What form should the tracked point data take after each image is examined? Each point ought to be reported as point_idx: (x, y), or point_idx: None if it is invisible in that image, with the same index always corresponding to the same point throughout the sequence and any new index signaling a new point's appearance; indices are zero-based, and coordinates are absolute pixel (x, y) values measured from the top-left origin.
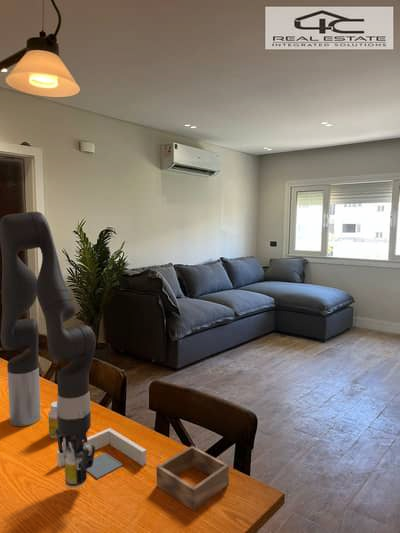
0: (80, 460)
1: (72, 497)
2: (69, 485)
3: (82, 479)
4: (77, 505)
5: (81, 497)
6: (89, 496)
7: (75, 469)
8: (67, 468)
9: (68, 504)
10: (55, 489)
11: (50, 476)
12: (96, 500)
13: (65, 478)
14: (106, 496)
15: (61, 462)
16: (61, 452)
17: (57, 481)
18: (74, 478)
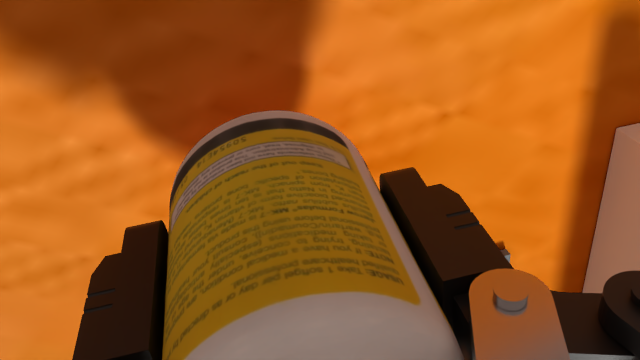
0: None
1: (176, 101)
2: (214, 137)
3: (95, 294)
4: (33, 105)
5: (132, 162)
6: (109, 216)
7: (168, 328)
8: (254, 254)
9: (92, 41)
10: (385, 8)
11: (581, 29)
12: (25, 245)
13: (293, 141)
14: (39, 310)
15: (637, 160)
16: (605, 301)
17: (474, 59)
18: (176, 229)
